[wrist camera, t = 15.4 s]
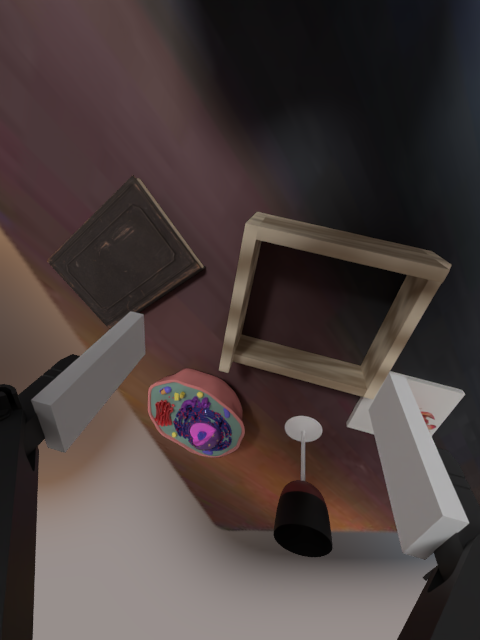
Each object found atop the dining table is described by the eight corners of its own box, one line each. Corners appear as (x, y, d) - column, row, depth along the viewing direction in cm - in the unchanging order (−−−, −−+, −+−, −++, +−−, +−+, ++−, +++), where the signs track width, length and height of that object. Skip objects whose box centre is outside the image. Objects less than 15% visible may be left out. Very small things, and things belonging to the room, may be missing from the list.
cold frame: (257, 211, 40) (245, 223, 32) (431, 251, 38) (464, 273, 30) (231, 339, 51) (218, 370, 43) (365, 374, 49) (377, 414, 41)
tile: (376, 367, 48) (377, 371, 47) (462, 390, 47) (465, 394, 46) (346, 422, 55) (347, 426, 54) (420, 443, 54) (421, 448, 53)
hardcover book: (56, 257, 51) (46, 260, 49) (140, 174, 41) (132, 175, 39) (118, 325, 55) (111, 331, 53) (206, 266, 46) (202, 270, 44)
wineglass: (306, 408, 55) (307, 518, 38) (332, 435, 57) (344, 552, 40) (274, 422, 59) (262, 530, 42) (300, 448, 61) (298, 560, 44)
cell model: (207, 336, 52) (184, 376, 42) (268, 410, 57) (260, 460, 48) (147, 371, 59) (116, 412, 49) (206, 433, 65) (189, 481, 55)
